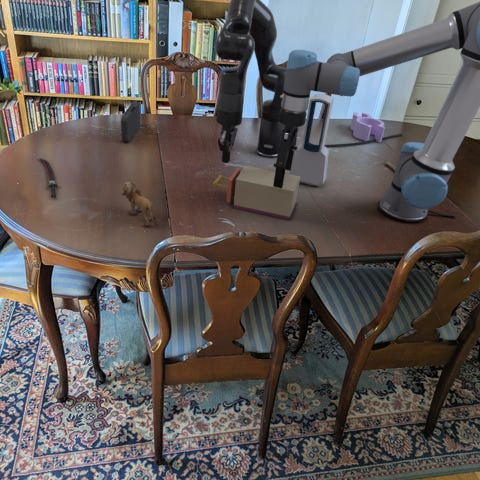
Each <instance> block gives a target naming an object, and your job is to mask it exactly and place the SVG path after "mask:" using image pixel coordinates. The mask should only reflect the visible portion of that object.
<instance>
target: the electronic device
mask: <svg viewBox="0 0 480 480" xmlns="http://www.w3.org/2000/svg"><path fill="white" fill-rule="evenodd" d="M334 100H335V98H334V97H332V96H331V95H328V94H326V93H316V94H313V96H312V97H310V99H309V104H308V109H307V114H306V120H305V127H304V132H303V138H302V143H300V144H299V145H298V146H297V147H298V148H297V150H295V151H294V155H293V161H292V166H291V171H289V173H288V174H291V175H296V176H300V182H299V184H300V183H301V184H305V185H309V186H314V187H318V188H320V187H321V186H322V185H324V183H325V181H326V179H327V173H328V163H329V162H328V161H329V153H330V150H329V149H328V147H324V145H326V140H327V135H328V130H329V125H330V119H331V114H332V109H333V104H334ZM317 103H321V104H324V105H325V110H324V115H323V120H322V126H321V132H320V136H319V140H318V144H315V143H311V142H310V139H311V133H312V129H313V122H314V117H315V111H316V107H317Z"/></svg>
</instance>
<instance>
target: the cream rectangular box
mask: <svg viewBox="0 0 480 480" xmlns="http://www.w3.org/2000/svg"><path fill="white" fill-rule="evenodd" d="M275 171H276V170H270V169H265V168H259V167H256V166H250V165H245V166H244V167H243V168H242V169H241V171H240V175H239V176H238V177H237V179H236V186H235V196H234V197H233V206H232V207H233V209H234V208H235V209H237V210H243V211H247V212H251V213H255V214H261V215H266V216H271V217H275V218H279V219H284V220H287V221H290V220H291V217H292V214H293V212H294V209H295V207H296V204H297V198H298V194H299V193H298V192H299V187H300V176H296V175H291V174H289V173H287V172H285V176H284V181H283V187H282V188H278V187H273V184H274V177H275Z"/></svg>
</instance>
